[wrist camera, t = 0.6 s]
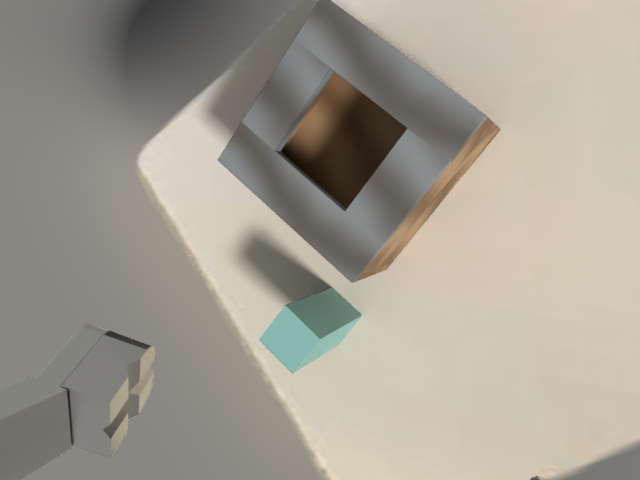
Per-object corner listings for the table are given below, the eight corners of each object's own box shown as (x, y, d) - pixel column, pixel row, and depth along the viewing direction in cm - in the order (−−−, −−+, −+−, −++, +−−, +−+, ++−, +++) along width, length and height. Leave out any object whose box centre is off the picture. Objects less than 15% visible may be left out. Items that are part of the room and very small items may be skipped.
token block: (332, 287, 55) (285, 305, 46) (362, 315, 54) (320, 339, 45) (309, 316, 56) (258, 339, 47) (338, 344, 55) (292, 373, 46)
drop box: (361, 26, 52) (322, -6, 44) (500, 129, 48) (485, 115, 40) (268, 165, 57) (217, 160, 49) (386, 269, 53) (351, 283, 45)
